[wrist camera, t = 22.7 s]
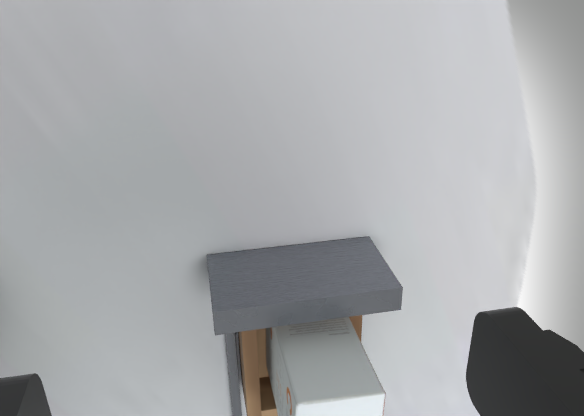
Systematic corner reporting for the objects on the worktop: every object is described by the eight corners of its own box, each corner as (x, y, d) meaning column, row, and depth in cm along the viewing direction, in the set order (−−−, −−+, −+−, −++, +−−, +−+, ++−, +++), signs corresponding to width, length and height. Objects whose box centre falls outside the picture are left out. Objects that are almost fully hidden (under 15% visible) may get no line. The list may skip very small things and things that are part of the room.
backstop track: (225, 436, 55) (232, 509, 48) (206, 254, 45) (212, 312, 38) (360, 413, 57) (387, 480, 50) (369, 236, 48) (402, 287, 41)
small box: (332, 357, 51) (377, 477, 40) (265, 365, 50) (291, 491, 39) (336, 285, 48) (387, 393, 36) (264, 291, 47) (294, 405, 35)
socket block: (242, 382, 52) (248, 423, 47) (233, 276, 47) (239, 311, 42) (343, 367, 53) (358, 405, 49) (345, 262, 48) (363, 295, 44)
